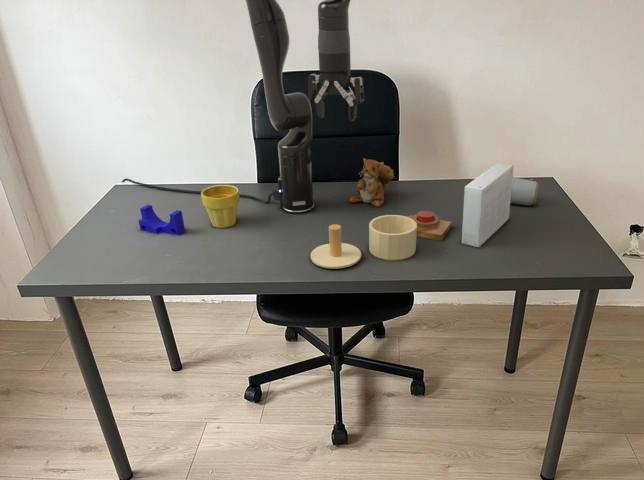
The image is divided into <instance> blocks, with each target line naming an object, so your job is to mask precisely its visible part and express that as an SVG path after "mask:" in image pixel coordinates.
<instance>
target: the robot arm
mask: <svg viewBox="0 0 644 480" xmlns="http://www.w3.org/2000/svg"><path fill="white" fill-rule="evenodd" d="M350 3H351V0H321V1H320V2H319V3H318V5H317V26H318V35H317V49H318V69H319V74H317V73H315V72H314V73H311V74H309V75H308V76H307V95H306V94H305V93H303V92H291V93H287V94H285V92H284V91H285V90H284V85H283V71H284V67H285V63H286V59H287V56H288V54H289V53H288V52H289V48H290V41H291V40H290V33H289V28H288V23H287V19H286V15H285V12H284V10H283V9H282V7H281V5H280V4H279V3H278V1H277V0H245V4H246V8H247V12H248V18H249V22H250V28H251V32H252V36H253V41H254V44H255V48H256V52H257V56H258V61H259V65H260V68H261V75H262V81H263V87H264V88H263V89H264V94H265V100H266V101H265V102H266V107H267V115H268V118H269V120H270V123H271V125H272V126H273V128H274V129H275V130H276V131H278V132H285V131H289V132H288V133H287V134H286V135H285V136H284V137H283V138H282V139H281V140H280V141H279V142H278V143H277V152H278V153H277V155H278V165H279V177H278V178H277V185H278V186H277V187H276V188H274V189H273V190H272V192H271V193H269V195H268V196H267V200H265V201H264V200H261V199H260V198H258V197H256V196H254V195H250V194H240V193H239V197H242V198H248V199H253V200H255V201H257V202H260V203H263V204H269V203H270V202H271V197H272V196H273V200H275V201H279V208H280V209H281V210H283V211H284V212H287V213H289V214H304V213H307V212H310V211H313V209H314V208H315V203H314V202H315V201H314V187H313V169H312V167H313V166H312V151H311V145H312V143H313V112H312V106H311V102H310V101H313V102H315V111H316V113H315V114H316V115H317V118H318V119H324V118H325V115H326V114H325V113H326V112H325V101H324V100H325V98H326V97H327V95H328V96H329V95H330V96H332V95H335V96H342V98H343V99H344V100H345V101H346V102H347V104H348V122H354V121H355V120H356V119H357V117H358V105H360V104H362V103H364V102H365V87H364V86H365V85H364V77H363V76H357V77H352V75H351V70H352V68H351V66H352V65H351V64H352V63H351V62H352V61H351V35H350V29H349V28H350V18H349V17H350V16H349V15H350V14H349V9H350ZM319 83H320V85H321V88H319V91H318V84H319ZM350 85H352V86H353V88H354V91H353V90H352V88H351V87H350ZM125 182H130V183H132V184H135V185H140V186H143V187H147V188H152V189H159V190H163V191H164V190H165V191H171V192H179V193H190V194H201V192H202V191H203V190H189V189H179V188H170V187H163V186H157V185H154V184H153V185H152V184H147V183H144V182H139V181H135V180H132V179H130V178H123V179H122V180H121V183H125Z"/></svg>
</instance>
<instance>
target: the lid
mask: <svg viewBox="0 0 644 480" xmlns="http://www.w3.org/2000/svg"><path fill="white" fill-rule="evenodd" d="M342 241H343V240H342V226H341V224H336V223H333V224H330V225H329V226H328V242H329V243H325V244H321V245H318V246H316V247H315V248H314V249H313V250H311V253H310V261H311V262H312V263H313V264H315V265H316V266H318V267H320V268H324V269H345V268H348V267H351V266H354V265H356V264H357V263H358V262H360V260H361V258H362V251H361V250H360V249H359V248H358V247H357V246H355V245H353V244H350V243H345V242H342Z"/></svg>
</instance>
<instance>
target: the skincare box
mask: <svg viewBox="0 0 644 480" xmlns="http://www.w3.org/2000/svg"><path fill="white" fill-rule="evenodd" d="M514 168H515V166H514V164H510V163H504V162H503V163H502V162H496V163H494V164H493V165H492V166H491V167H489V168H488V169H486V170H485V171H484V172H481V174H480V175H478V176H477V177H475V178H474V179H473V180H471V181H470V182H469V183H468V184H465V186H464V191H463V192H464V193H463V209H462V210H463V211H462V230H461V244H463V245H467V246H472V247H476V248H480V247H481V246H482V245H483V244H485V242H486V241H488V240H489V238H491V236H493V235H494V233H496V232H497V231H498V230H499V229H500V228H501V227H502V226H503V225H505V223H506V222H507V221H508V220H509V219H510V212H511V211H510V209H511V203H510V199H511V189H512V179H513V177H514Z"/></svg>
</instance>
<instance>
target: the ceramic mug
mask: <svg viewBox="0 0 644 480" xmlns="http://www.w3.org/2000/svg"><path fill="white" fill-rule="evenodd" d="M539 187H540V184H539V182H538V181H535V180H530V179H524V178H518V177H515V176H513V179H512V189H511V199H510V205H511V204H512V205H521V206H522V205H523V206H535V204H536V202H537V197H538V192H539Z"/></svg>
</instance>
